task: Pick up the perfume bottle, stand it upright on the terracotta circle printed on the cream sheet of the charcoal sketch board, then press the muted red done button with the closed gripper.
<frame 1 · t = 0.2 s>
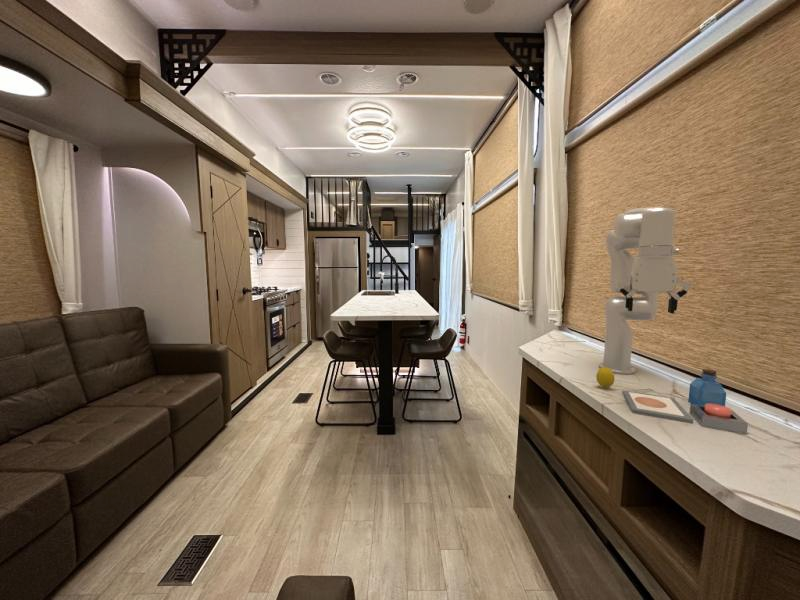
hand: (649, 311, 92), 31 cm above the worktop, tool pointing down, fingers open, 9 cm apart
perfume bottle: (705, 408, 98), on the worktop
done button base: (716, 422, 88), on the worktop
done button: (717, 411, 88), point 3 cm above the worktop, slide at 0.0 cm
sketch board: (653, 406, 99), on the worktop
lemon: (604, 388, 114), on the worktop
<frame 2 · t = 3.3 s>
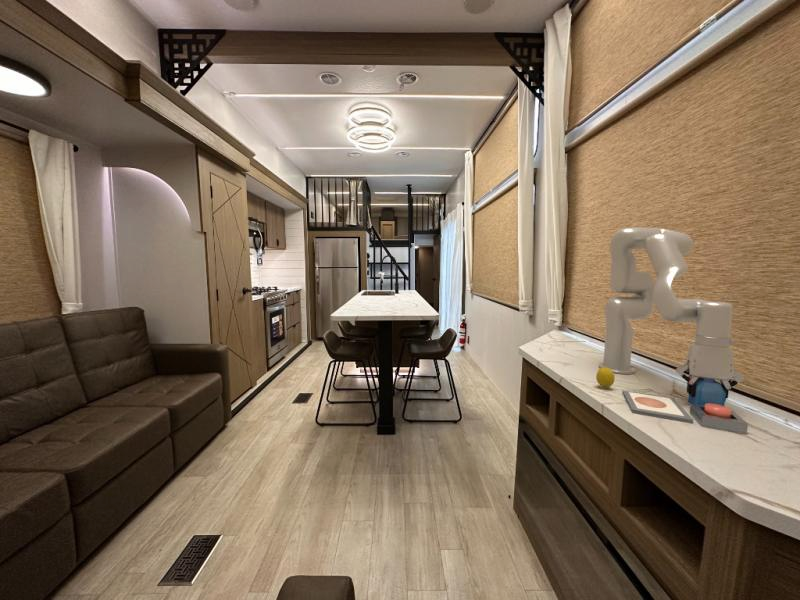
hand: (706, 397, 98), 3 cm above the worktop, tool pointing down, fingers closed on perfume bottle, 6 cm apart
perfume bottle: (705, 407, 98), on the worktop, touching gripper
everything else where it was.
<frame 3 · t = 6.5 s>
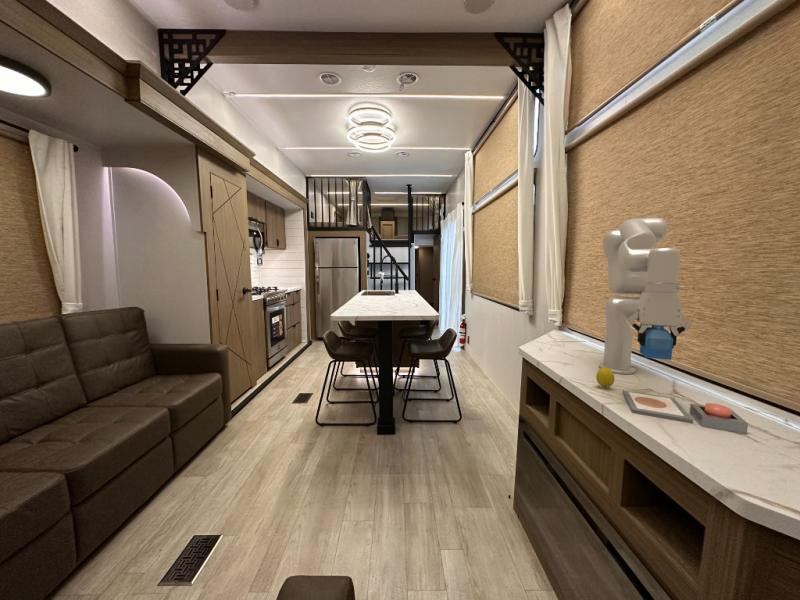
hand: (655, 345, 97), 20 cm above the worktop, tool pointing down, fingers closed on perfume bottle, 6 cm apart
perfume bottle: (654, 356, 98), point 16 cm above the worktop, touching gripper
everything else where it was.
when the fingers open (6 cm above the worktop, at t = 9.6 s): perfume bottle drops 1 cm, resting on sketch board.
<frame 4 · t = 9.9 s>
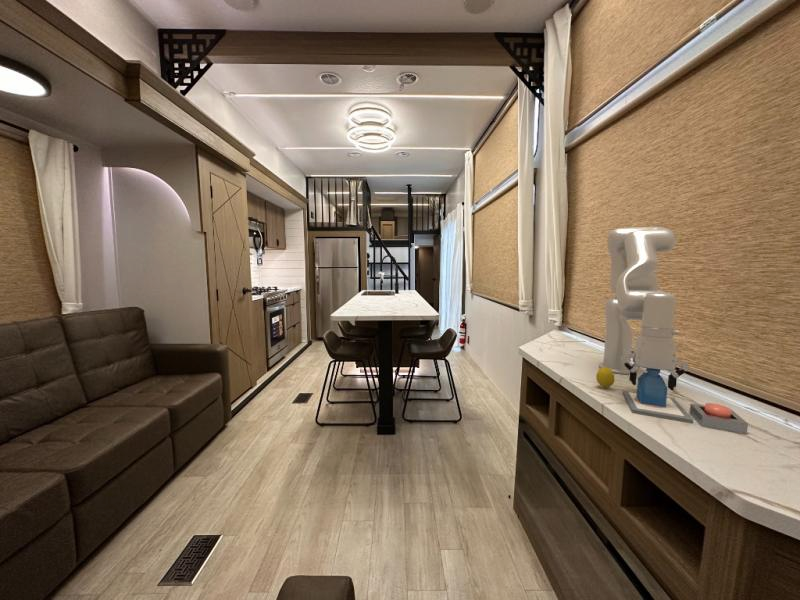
hand: (651, 386, 98), 6 cm above the worktop, tool pointing down, fingers open, 9 cm apart
perfume bottle: (650, 402, 99), point 1 cm above the worktop, touching sketch board
everything else where it was.
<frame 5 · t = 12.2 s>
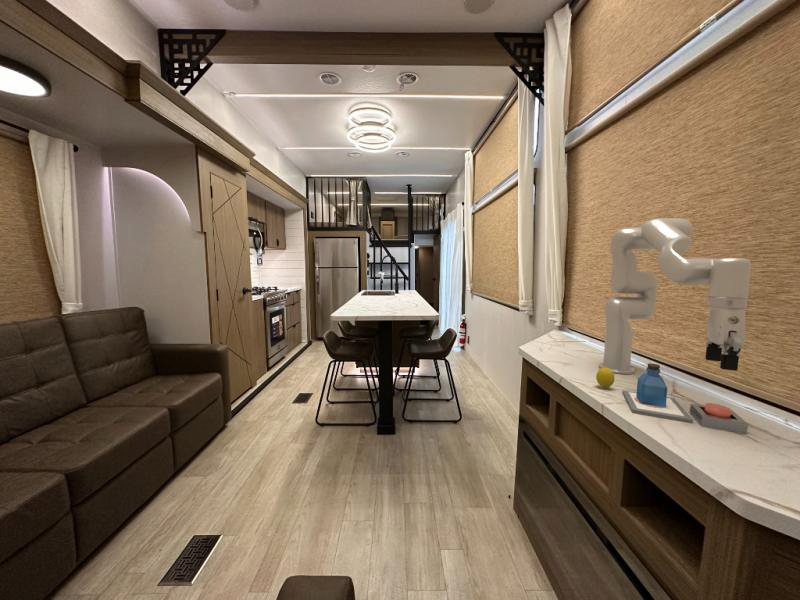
hand: (720, 364, 87), 17 cm above the worktop, tool pointing down, fingers open, 9 cm apart
nothing on the worktop moved.
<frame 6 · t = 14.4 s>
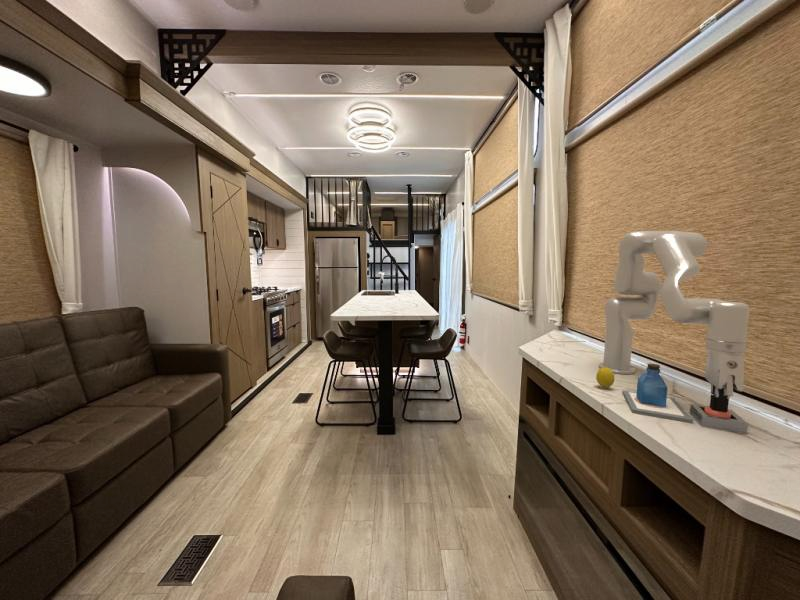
hand: (718, 410, 88), 4 cm above the worktop, tool pointing down, fingers closed
done button: (717, 414, 88), point 3 cm above the worktop, slide at 0.8 cm, touching gripper
everything else where it was.
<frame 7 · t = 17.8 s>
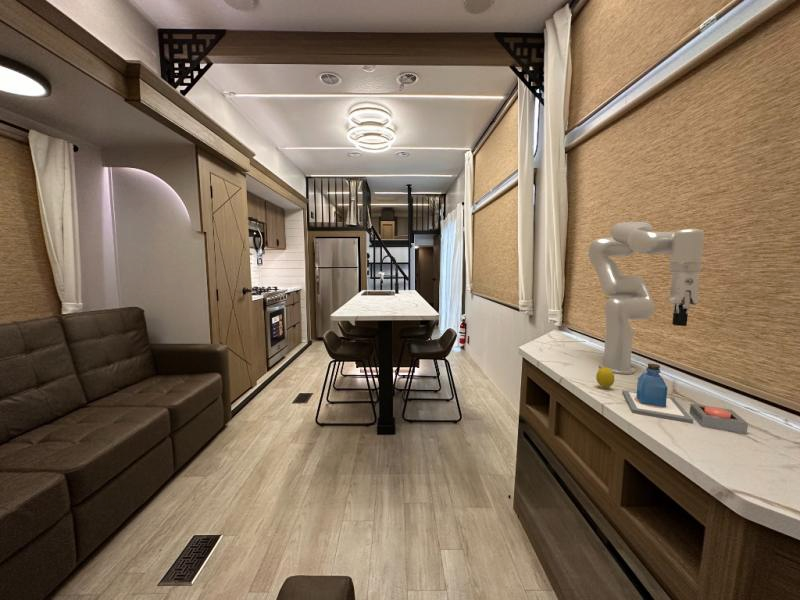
hand: (679, 325, 102), 25 cm above the worktop, tool pointing down, fingers closed
done button: (717, 414, 88), point 2 cm above the worktop, slide at 0.9 cm
everything else where it was.
at the end: perfume bottle inside the target area on the sketch board (0.3 cm from its centre), point 1.1 cm above the sketch board's base; perfume bottle tilted 0°; done button slide at 0.9 cm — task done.
